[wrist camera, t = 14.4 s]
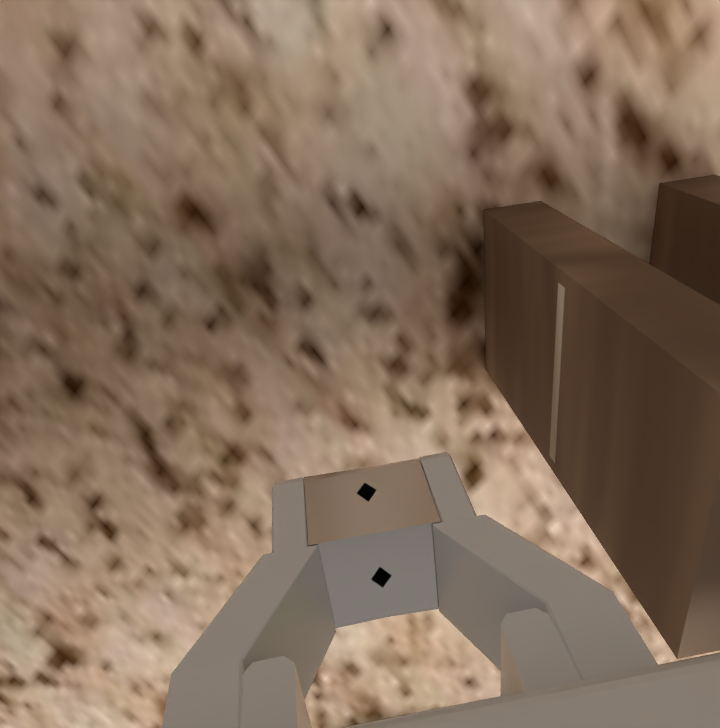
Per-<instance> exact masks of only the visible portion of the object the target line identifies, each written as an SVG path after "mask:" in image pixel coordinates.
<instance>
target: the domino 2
mask: <svg viewBox="0 0 720 728" xmlns="http://www.w3.org/2000/svg"><path fill="white" fill-rule="evenodd" d="M650 265H652V266H653V267H655V268H657V269H659V270H660V271H662V272H664V273H665V274H667V275H669V276H671V277H672V278H674V279H676V280H677V281H679V282H681V283H683V284H684V285H686V286H688V287H690V288H691V289H693V290H695V291H696V292H698V293H700V294H702V295H703V296H705V297H707V298H709V299H710V300H712V301H714V302H715V303H717V304H719V305H720V176H716V175H712V176H705V177H699V178H692V179H686V180H679V181H672V182H666V183H660V187H659V195H658V203H657V210H656V218H655V226H654V234H653V241H652V249H651V257H650Z"/></svg>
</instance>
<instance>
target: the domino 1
mask: <svg viewBox="0 0 720 728" xmlns="http://www.w3.org/2000/svg"><path fill="white" fill-rule="evenodd" d="M484 275H485V351H486V371H487V372H488V374H489V375H490V377H491V378H492V380H493V381H494V383H495V384H496V386H497V387H498V389H499V390H500V392H501V393H502V395H503V396H504V398H505V399H506V401H507V402H508V404H509V405H510V407H511V408H512V410H513V411H514V413H515V414H516V416H517V417H518V419H519V420H520V422H521V423H522V425H523V427H524V428H525V430H526V431H527V433H528V434H529V436H530V437H531V439H532V440H533V442H534V443H535V445H536V446H537V448H538V449H539V451H540V452H541V454H542V455H543V457H544V458H545V460H546V461H547V463H548V464H549V466H550V467H551V469H552V470H553V472H554V473H555V475H556V476H557V478H558V479H559V481H560V482H561V484H562V485H563V487H564V489H565V490H566V492H567V493H568V495H569V496H570V498H571V499H572V501H573V502H574V504H575V505H576V507H577V508H578V510H579V511H580V513H581V514H582V516H583V517H584V519H585V520H586V522H587V523H588V525H589V526H590V528H591V529H592V531H593V532H594V534H595V535H596V537H597V538H598V540H599V541H600V543H601V544H602V546H603V548H604V549H605V551H606V552H607V554H608V555H609V557H610V558H611V560H612V561H613V563H614V564H615V566H616V567H617V569H618V570H619V572H620V573H621V575H622V576H623V578H624V579H625V581H626V582H627V584H628V585H629V587H630V588H631V590H632V591H633V593H634V594H635V596H636V597H637V599H638V600H639V602H640V603H641V605H642V606H643V608H644V610H645V611H646V613H647V614H648V616H649V617H650V619H651V620H652V622H653V623H654V625H655V626H656V628H657V629H658V631H659V632H660V634H661V635H662V637H663V638H664V640H665V641H666V643H667V644H668V646H669V647H670V649H671V650H672V652H673V653H674V655H675V656H676V658H677V659H678V658H683V657H688V656H693V655H698V654H703V653H708V652H713V651H718V650H720V305H719V304H717V303H715V302H714V301H712V300H710V299H709V298H707V297H705V296H703V295H702V294H700V293H698V292H696V291H695V290H693V289H691V288H690V287H688V286H686V285H684V284H683V283H681V282H679V281H677V280H676V279H674V278H672V277H671V276H669V275H667V274H665V273H664V272H662V271H660V270H659V269H657V268H655V267H653V266H652V265H650V264H648V263H646V262H645V261H643V260H641V259H640V258H638V257H636V256H634V255H633V254H631V253H629V252H627V251H626V250H624V249H622V248H621V247H619V246H617V245H615V244H614V243H612V242H610V241H608V240H607V239H605V238H603V237H602V236H600V235H598V234H596V233H595V232H593V231H591V230H590V229H588V228H586V227H584V226H583V225H581V224H579V223H577V222H576V221H574V220H572V219H571V218H569V217H567V216H565V215H564V214H562V213H560V212H558V211H557V210H555V209H553V208H552V207H550V206H548V205H546V204H545V203H543V202H541V201H539V202H532V203H526V204H519V205H512V206H506V207H499V208H492V209H486V210H484Z"/></svg>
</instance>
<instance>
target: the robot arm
mask: <svg viewBox="0 0 720 728" xmlns="http://www.w3.org/2000/svg"><path fill="white" fill-rule="evenodd" d="M433 609H439V611H440V612H441V613H442V614H443V615H444V616H445V617H446V618H447V619H448V620H449V621H450V622H451V623H452V624H453V625H454V626H455V627H456V628H457V629H458V630H459V631H460V632H461V633H462V634H463V635H464V636H465V637H467V638H468V639H469V640H470V641H471V642H472V643H473V644H474V645H475V646H476V647H477V648H478V649H479V650H480V651H481V652H482V653H483V654H484V655H485V656H486V657H487V658H488V659H489V660H490V661H491V662H492V663H493V664H494V665H495V666H497V667H498V668H499V669H500V670H501V696H499V697H494V698H489V699H484V700H479V701H474V702H469V703H464V704H459V705H454V706H449V707H444V708H439V709H434V710H429V711H424V712H419V713H414V714H408V715H403V716H398V717H393V718H388V719H383V720H378V721H373V722H368V723H363V724H358V725H353V726H348V727H343V728H720V653H716V654H711V655H705V656H700V657H695V658H690V659H685V660H680V661H675V662H670V663H665V664H660V665H658V664H657V662H656V661H655V659H654V657H653V656H652V654H651V652H650V651H649V649H648V648H647V646H646V644H645V643H644V641H643V640H642V638H641V636H640V635H639V633H638V631H637V630H636V628H635V627H634V625H633V623H632V622H631V620H630V619H629V617H628V615H627V614H626V612H625V610H624V609H623V607H622V606H621V604H620V602H619V601H618V599H617V598H616V596H615V594H614V593H613V591H611V590H609V589H608V588H606V587H604V586H603V585H601V584H600V583H598V582H596V581H595V580H593V579H591V578H590V577H588V576H586V575H585V574H583V573H581V572H580V571H578V570H576V569H575V568H573V567H571V566H570V565H568V564H566V563H565V562H563V561H561V560H560V559H558V558H556V557H555V556H553V555H551V554H550V553H548V552H546V551H545V550H543V549H541V548H540V547H538V546H536V545H535V544H533V543H532V542H530V541H528V540H527V539H525V538H523V537H522V536H520V535H518V534H517V533H515V532H513V531H512V530H510V529H508V528H507V527H505V526H503V525H502V524H500V523H498V522H497V521H495V520H493V519H492V518H490V517H488V516H487V515H481V516H476V513H475V511H474V509H473V506H472V504H471V502H470V500H469V497H468V495H467V493H466V490H465V488H464V486H463V484H462V481H461V479H460V477H459V474H458V472H457V470H456V467H455V465H454V463H453V461H452V458H451V456H450V454H448V453H447V452H444V453H439V454H434V455H429V456H424V457H419V458H418V459H412V460H407V461H401V462H396V463H390V464H385V465H379V466H374V467H368V468H361V469H354V470H348V471H341V472H334V473H328V474H321V475H315V476H308V477H304V478H297V479H291V480H285V481H279V482H274V485H273V488H272V553H270V554H265V555H263V556H262V557H261V558H260V560H259V561H258V562H257V563H256V565H255V566H254V567H253V569H252V570H251V571H250V573H249V574H248V575H247V577H246V578H245V579H244V580H243V582H242V583H241V584H240V586H239V587H238V588H237V590H236V591H235V592H234V593H233V595H232V596H231V597H230V599H229V600H228V601H227V603H226V604H225V605H224V606H223V608H222V609H221V610H220V612H219V613H218V614H217V616H216V617H215V618H214V619H213V621H212V622H211V623H210V625H209V626H208V627H207V629H206V630H205V631H204V632H203V634H202V635H201V636H200V638H199V639H198V640H197V642H196V643H195V644H194V645H193V647H192V648H191V649H190V651H189V652H188V653H187V655H186V656H185V657H184V658H183V660H182V661H181V662H180V664H179V665H178V666H177V668H176V669H175V670H174V671H173V673H172V674H171V679H170V685H169V691H168V696H167V702H166V708H165V714H164V720H163V726H162V728H312V727H311V723H310V719H309V716H308V712H307V708H306V704H305V701H304V700H305V698H306V695H307V693H308V691H309V689H310V687H311V685H312V682H313V680H314V678H315V676H316V674H317V671H318V669H319V667H320V665H321V663H322V660H323V658H324V656H325V654H326V652H327V650H328V647H329V645H330V643H331V641H332V639H333V636H334V634H335V632H336V630H335V628H339V627H343V626H348V625H352V624H357V623H361V622H366V621H371V620H375V619H380V618H384V617H390V616H396V615H402V614H409V613H415V612H421V611H427V610H433Z"/></svg>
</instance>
